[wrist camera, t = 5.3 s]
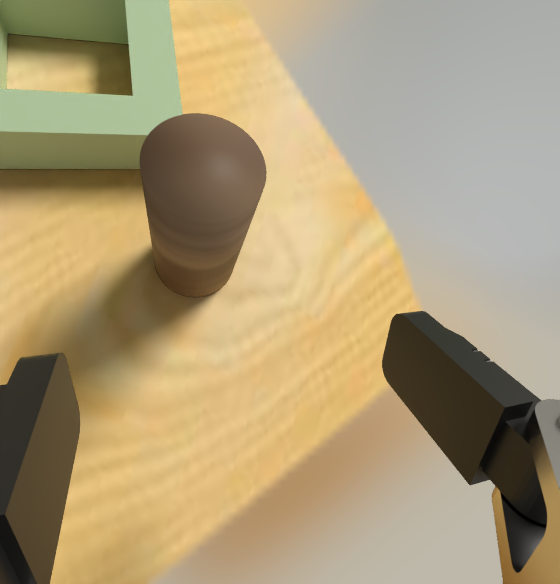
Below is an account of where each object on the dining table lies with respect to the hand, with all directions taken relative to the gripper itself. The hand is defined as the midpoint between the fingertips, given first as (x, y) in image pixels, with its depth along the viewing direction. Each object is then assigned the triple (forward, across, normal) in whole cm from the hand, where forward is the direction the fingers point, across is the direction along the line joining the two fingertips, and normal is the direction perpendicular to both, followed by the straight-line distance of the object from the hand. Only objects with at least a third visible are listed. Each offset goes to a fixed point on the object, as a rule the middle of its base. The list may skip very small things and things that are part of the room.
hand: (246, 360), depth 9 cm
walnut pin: (+13, 0, +3) cm, 13 cm away
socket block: (+22, +6, -6) cm, 23 cm away
